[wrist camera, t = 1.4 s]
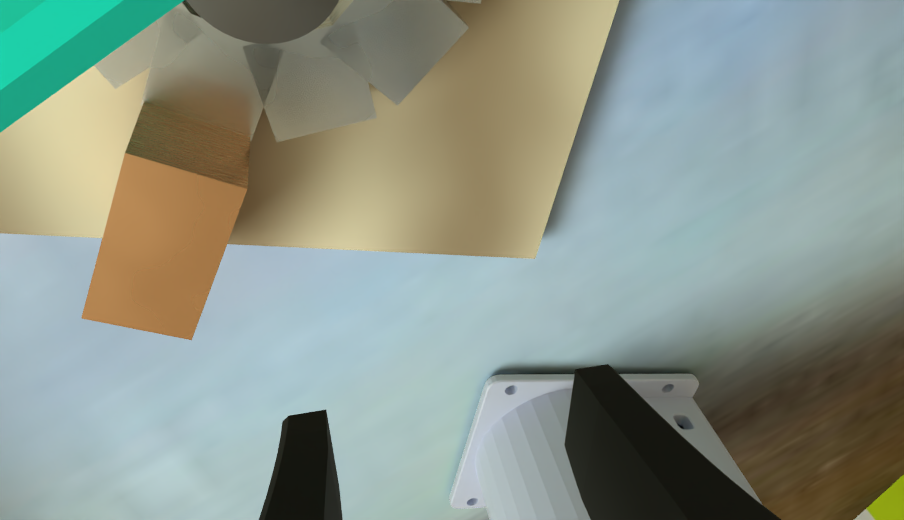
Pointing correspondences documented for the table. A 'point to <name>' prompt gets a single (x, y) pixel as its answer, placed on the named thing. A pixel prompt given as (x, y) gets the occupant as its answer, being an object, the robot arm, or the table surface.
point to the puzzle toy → (887, 504)
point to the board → (352, 140)
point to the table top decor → (61, 44)
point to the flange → (234, 137)
